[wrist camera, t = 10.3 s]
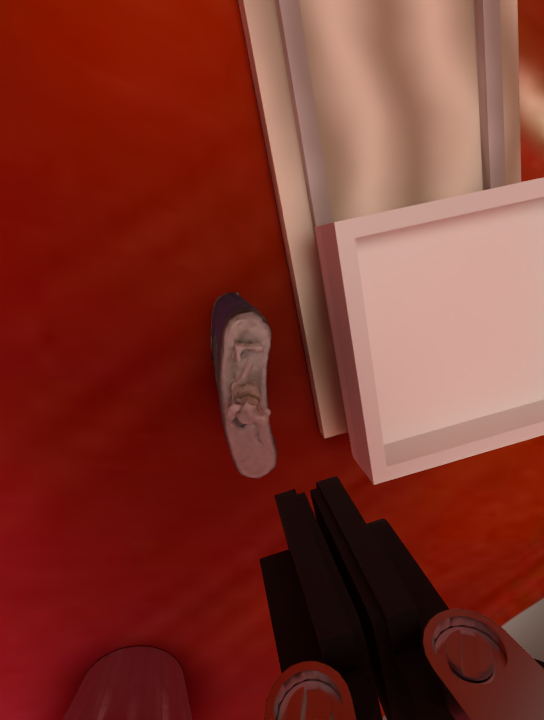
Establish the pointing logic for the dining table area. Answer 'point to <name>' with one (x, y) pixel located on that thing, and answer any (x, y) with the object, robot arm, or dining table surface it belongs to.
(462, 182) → the rail board
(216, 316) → the flask
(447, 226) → the pink rimmed tray
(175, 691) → the plant pot
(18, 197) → the dining table surface
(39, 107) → the dining table surface
